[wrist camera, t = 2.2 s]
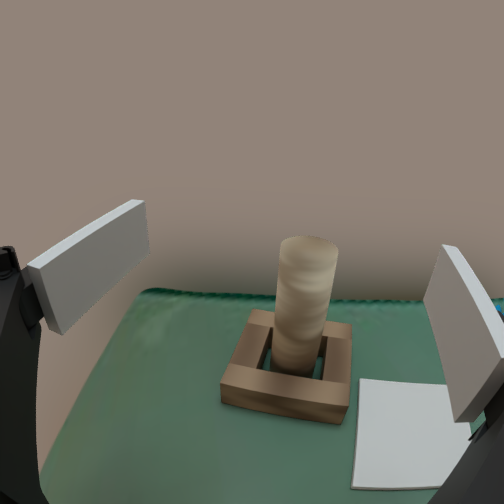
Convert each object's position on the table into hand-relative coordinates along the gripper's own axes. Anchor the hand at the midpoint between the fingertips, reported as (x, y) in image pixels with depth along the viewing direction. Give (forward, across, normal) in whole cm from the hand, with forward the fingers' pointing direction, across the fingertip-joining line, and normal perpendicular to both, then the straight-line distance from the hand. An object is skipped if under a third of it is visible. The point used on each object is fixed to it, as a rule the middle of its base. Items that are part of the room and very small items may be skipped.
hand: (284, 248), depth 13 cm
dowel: (+10, +1, -19) cm, 21 cm away
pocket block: (+10, +1, -19) cm, 21 cm away
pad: (+4, +14, -18) cm, 23 cm away
